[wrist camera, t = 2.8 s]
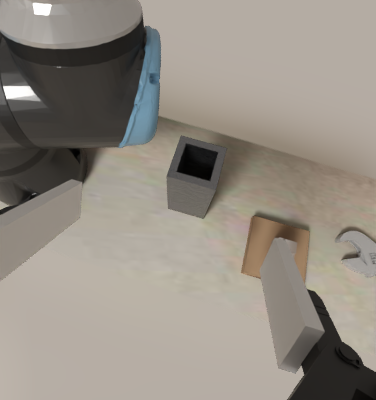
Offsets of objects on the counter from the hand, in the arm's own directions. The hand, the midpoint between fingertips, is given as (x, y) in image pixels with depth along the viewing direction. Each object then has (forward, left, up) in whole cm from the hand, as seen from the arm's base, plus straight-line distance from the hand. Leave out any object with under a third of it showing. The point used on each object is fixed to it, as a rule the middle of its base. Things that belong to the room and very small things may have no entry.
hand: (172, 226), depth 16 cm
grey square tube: (-3, +11, -22) cm, 25 cm away
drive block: (+13, +10, -22) cm, 28 cm away
